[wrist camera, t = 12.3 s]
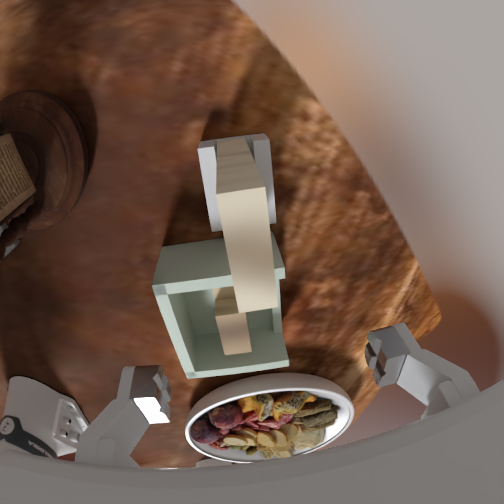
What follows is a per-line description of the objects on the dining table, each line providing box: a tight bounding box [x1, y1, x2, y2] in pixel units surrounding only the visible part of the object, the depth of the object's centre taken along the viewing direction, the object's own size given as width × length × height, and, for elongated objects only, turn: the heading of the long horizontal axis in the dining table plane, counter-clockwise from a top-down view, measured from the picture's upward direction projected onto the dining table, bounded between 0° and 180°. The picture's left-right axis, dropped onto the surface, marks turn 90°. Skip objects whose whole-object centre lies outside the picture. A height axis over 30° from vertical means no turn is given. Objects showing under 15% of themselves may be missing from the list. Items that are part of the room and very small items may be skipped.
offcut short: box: [215, 298, 252, 355], centre depth 34 cm, size 6×3×2 cm, turn 6°
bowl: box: [185, 373, 354, 463], centre depth 50 cm, size 30×30×8 cm
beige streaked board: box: [216, 137, 278, 313], centre depth 24 cm, size 8×2×14 cm, turn 7°
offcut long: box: [213, 286, 250, 335], centre depth 35 cm, size 9×3×3 cm, turn 6°
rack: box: [152, 231, 289, 379], centre depth 35 cm, size 14×12×7 cm
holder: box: [198, 133, 276, 232], centre depth 29 cm, size 8×6×3 cm
